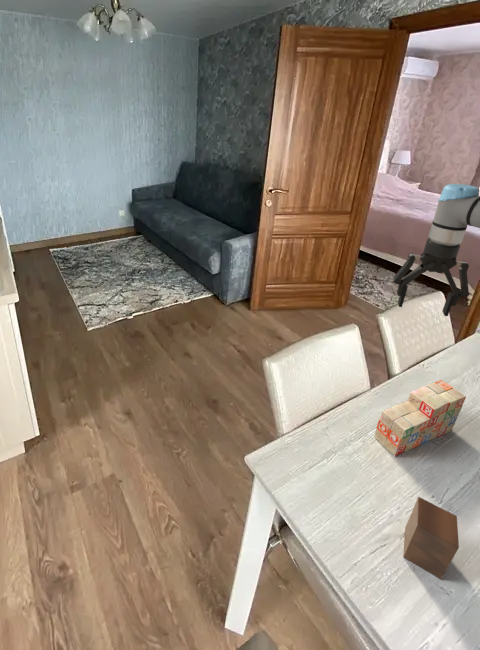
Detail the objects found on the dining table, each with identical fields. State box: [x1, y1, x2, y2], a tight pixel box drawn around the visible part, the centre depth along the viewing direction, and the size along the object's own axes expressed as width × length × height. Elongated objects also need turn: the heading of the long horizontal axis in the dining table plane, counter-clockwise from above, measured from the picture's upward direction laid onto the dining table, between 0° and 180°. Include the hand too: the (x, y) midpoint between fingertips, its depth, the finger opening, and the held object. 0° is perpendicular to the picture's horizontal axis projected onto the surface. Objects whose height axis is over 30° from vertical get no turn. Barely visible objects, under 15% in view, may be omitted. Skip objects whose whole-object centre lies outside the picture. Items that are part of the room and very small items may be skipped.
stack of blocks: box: [373, 379, 467, 457], centre depth 89 cm, size 21×6×12 cm, turn 111°
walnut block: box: [402, 496, 460, 580], centre depth 65 cm, size 6×6×10 cm
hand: (421, 309), depth 103 cm, fingers open, 11 cm apart
